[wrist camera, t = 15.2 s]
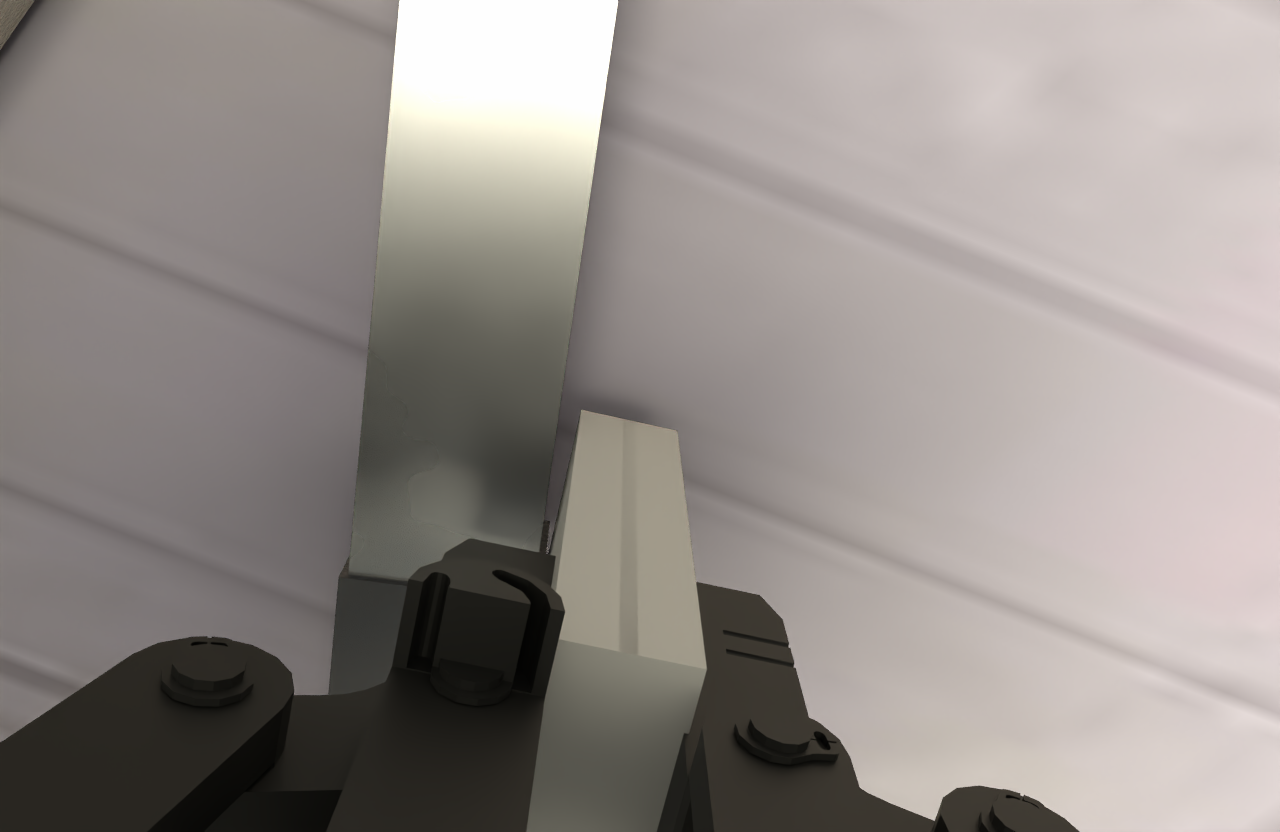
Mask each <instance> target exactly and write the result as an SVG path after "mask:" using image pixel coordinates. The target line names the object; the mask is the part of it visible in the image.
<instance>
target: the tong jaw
mask: <svg viewBox="0 0 1280 832" xmlns="http://www.w3.org/2000/svg"><path fill="white" fill-rule="evenodd" d="M617 4H618V0H400V1H399V13H398V24H397V35H396V46H395V57H394V68H393V80H392V91H391V102H390V113H389V124H388V135H387V147H386V158H385V169H384V180H383V191H382V203H381V214H380V225H379V236H378V247H377V258H376V270H375V281H374V292H373V303H372V314H371V325H370V337H369V348H368V359H367V370H366V381H365V392H364V404H363V415H362V426H361V437H360V448H359V460H358V471H357V482H356V493H355V504H354V515H353V527H352V538H351V549H350V556H349V558H348V560H347V562H346V564H345V566H344V568H343V570H342V572H341V574H340V576H339V580H338V591H337V603H336V614H335V626H334V637H333V649H332V661H331V672H330V684H329V695H338V694H348V693H353V692H357V691H362V690H367V689H369V688H372V687H374V686H376V685H379V684H381V683H384V682H385V681H386V680H387V677H388V675H389V672H390V670H391V667H392V663H393V658H394V652H395V647H396V642H397V637H398V631H399V626H400V621H401V616H402V610H403V605H404V600H405V595H406V589H407V584H408V579H409V578H410V577H411V576H412V575H413V574H414V573H415V572H416V571H417V570H418V569H419V568H420V567H423V566H426V565H429V564H432V563H435V562H438V561H442V559H443V556H444V553H445V552H447V551H449V550H450V549H452V548H454V547H455V546H457V545H459V544H460V543H462V542H464V541H465V540H467V539H469V538H472V539H477V540H482V541H486V542H491V543H496V544H501V545H505V546H510V547H515V548H520V549H525V550H529V551H534V552H539V553H544V554H546V547H547V539H548V531H549V523H550V521H544V514H545V507H546V500H547V493H548V486H549V479H550V472H551V465H552V458H553V451H554V444H555V437H556V430H557V423H558V416H559V409H560V403H561V396H562V389H563V382H564V375H565V368H566V361H567V354H568V347H569V340H570V333H571V326H572V319H573V312H574V305H575V298H576V291H577V284H578V277H579V270H580V263H581V256H582V249H583V242H584V235H585V228H586V221H587V214H588V207H589V200H590V193H591V186H592V179H593V172H594V165H595V158H596V151H597V144H598V137H599V130H600V123H601V116H602V109H603V102H604V95H605V88H606V81H607V74H608V67H609V60H610V53H611V46H612V39H613V32H614V25H615V18H616V11H617Z"/></svg>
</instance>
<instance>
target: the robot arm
mask: <svg viewBox="0 0 1280 832" xmlns="http://www.w3.org/2000/svg"><path fill="white" fill-rule="evenodd" d="M788 645H789V642H788V638H787V634H786V631H785V627H784V623H783V619H782V618H781V617H780V616H779V615H778V614H777V613H776V612H775V611H774V610H773V609H772V608H771V607H770V606H769V605H768V604H767V603H766V601H765V600H764V599H763V598H762V597H761V596H760V595H756V594H751V593H747V592H742V591H737V590H732V589H728V588H723V587H718V586H713V585H708V584H704V583H699V582H696V578H695V569H694V561H693V553H692V545H691V537H690V529H689V521H688V513H687V505H686V497H685V489H684V481H683V472H682V464H681V456H680V448H679V440H678V432H677V431H676V430H672V429H667V428H663V427H658V426H654V425H649V424H644V423H640V422H635V421H631V420H626V419H621V418H617V417H612V416H608V415H603V414H599V413H594V412H589V411H585V410H581V413H580V418H579V422H578V426H577V431H576V435H575V440H574V444H573V448H572V453H571V457H570V462H569V466H568V470H567V475H566V479H565V484H564V488H563V493H562V497H561V501H560V506H559V510H558V515H557V519H556V523H555V528H554V532H553V537H552V541H551V545H550V550H549V554H544V553H539V552H534V551H529V550H525V549H520V548H515V547H510V546H505V545H501V544H496V543H491V542H486V541H482V540H477V539H472V538H469V539H467V540H465V541H464V542H462V543H460V544H459V545H457V546H455V547H454V548H452V549H450V550H449V551H447V552H445V553H444V556H443V559H442V561H438V562H435V563H432V564H429V565H426V566H423V567H420V568H419V569H418V570H417V571H416V572H415V573H414V574H413V575H412V576H411V577H410V578H409V579H408V584H407V589H406V595H405V600H404V605H403V610H402V616H401V621H400V626H399V631H398V637H397V642H396V647H395V652H394V658H393V663H392V667H391V670H390V672H389V675H388V677H387V680H386V681H385V682H384V683H381V684H379V685H376V686H374V687H372V688H369V689H367V690H362V691H357V692H353V693H348V694H338V695H321V696H319V695H294V686H293V679H292V673H291V672H290V671H289V670H288V669H287V668H286V667H285V665H284V664H283V663H282V662H281V661H280V660H279V659H278V658H277V657H275V656H273V655H271V654H269V653H267V652H265V651H263V650H261V649H259V648H257V647H255V646H253V645H249V644H245V643H241V642H236V641H232V640H230V639H227V638H219V637H212V638H207V636H206V637H189V638H184V639H178V640H172V641H166V642H160V643H157V644H154V645H152V646H150V647H148V648H146V649H143V650H141V651H139V652H137V653H134V654H132V655H131V656H129V657H128V658H126V659H125V660H123V661H122V662H120V663H119V664H117V665H116V666H114V667H113V668H111V669H110V670H108V671H107V672H105V673H104V674H102V675H101V676H99V677H98V678H96V679H95V680H93V681H92V682H90V683H89V684H88V685H86V686H85V687H83V688H82V689H80V690H79V691H77V692H76V693H74V694H73V695H71V696H70V697H68V698H67V699H65V700H64V701H62V702H61V703H59V704H58V705H56V706H55V707H53V708H52V709H50V710H49V711H47V712H46V713H44V714H43V715H41V716H40V717H38V718H37V719H35V720H34V721H32V722H31V723H29V724H28V725H26V726H25V727H23V728H22V729H20V730H19V731H17V732H16V733H14V734H13V735H11V736H10V737H8V738H7V739H5V740H4V741H2V742H1V743H0V832H1079V831H1078V830H1077V829H1076V828H1075V827H1074V826H1072V825H1071V824H1070V823H1069V822H1068V821H1067V820H1066V819H1065V818H1063V817H1061V816H1060V815H1058V814H1056V813H1055V812H1053V811H1051V810H1049V809H1048V808H1046V807H1044V805H1043V804H1042V803H1040V802H1039V801H1037V800H1035V799H1032V798H1030V797H1028V796H1025V795H1024V796H1020V793H1017V792H1013V791H1010V790H1006V789H1002V790H1001V789H995V788H989V787H984V786H972V787H963V788H956V789H955V790H953V791H952V792H951V793H949V794H948V795H946V796H945V797H943V799H942V802H941V805H940V808H939V811H938V814H937V816H936V819H935V821H933V820H931V819H928V818H926V817H923V816H920V815H918V814H915V813H913V812H910V811H908V810H905V809H903V808H900V807H898V806H895V805H893V804H890V803H888V802H886V801H884V800H882V799H880V798H877V797H875V796H873V795H871V794H869V793H867V792H865V791H864V790H862V789H861V788H860V787H859V784H858V781H857V778H856V775H855V771H854V768H853V765H852V762H851V759H850V756H849V755H848V753H847V751H846V750H845V748H844V746H843V745H842V743H841V742H840V740H839V739H838V738H837V737H836V736H835V735H833V734H832V733H831V732H830V731H829V730H827V729H826V728H825V727H824V726H823V725H821V724H820V723H818V722H817V721H815V720H813V719H811V718H809V716H808V713H807V709H806V705H805V701H804V698H803V694H802V690H801V687H800V683H799V679H798V675H797V672H796V668H793V666H794V660H793V657H792V653H791V649H790V648H788Z"/></svg>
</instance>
